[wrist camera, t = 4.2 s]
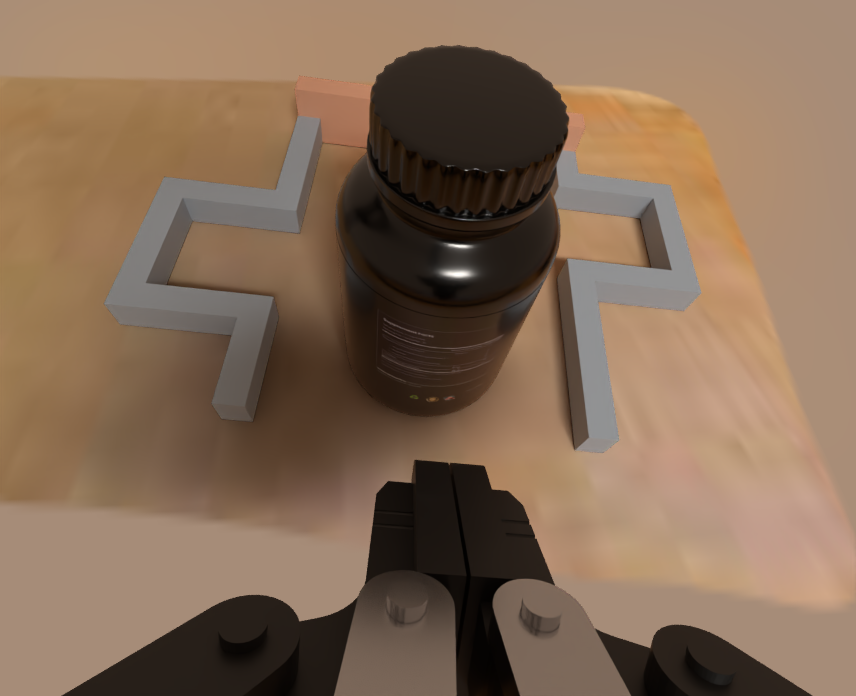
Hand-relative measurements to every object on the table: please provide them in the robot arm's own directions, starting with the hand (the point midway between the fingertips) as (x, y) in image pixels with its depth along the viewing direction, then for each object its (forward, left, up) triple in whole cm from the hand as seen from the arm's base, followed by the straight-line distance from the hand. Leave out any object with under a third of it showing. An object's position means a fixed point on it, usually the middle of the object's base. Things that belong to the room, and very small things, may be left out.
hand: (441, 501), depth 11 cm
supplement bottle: (0, +8, -8) cm, 12 cm away
